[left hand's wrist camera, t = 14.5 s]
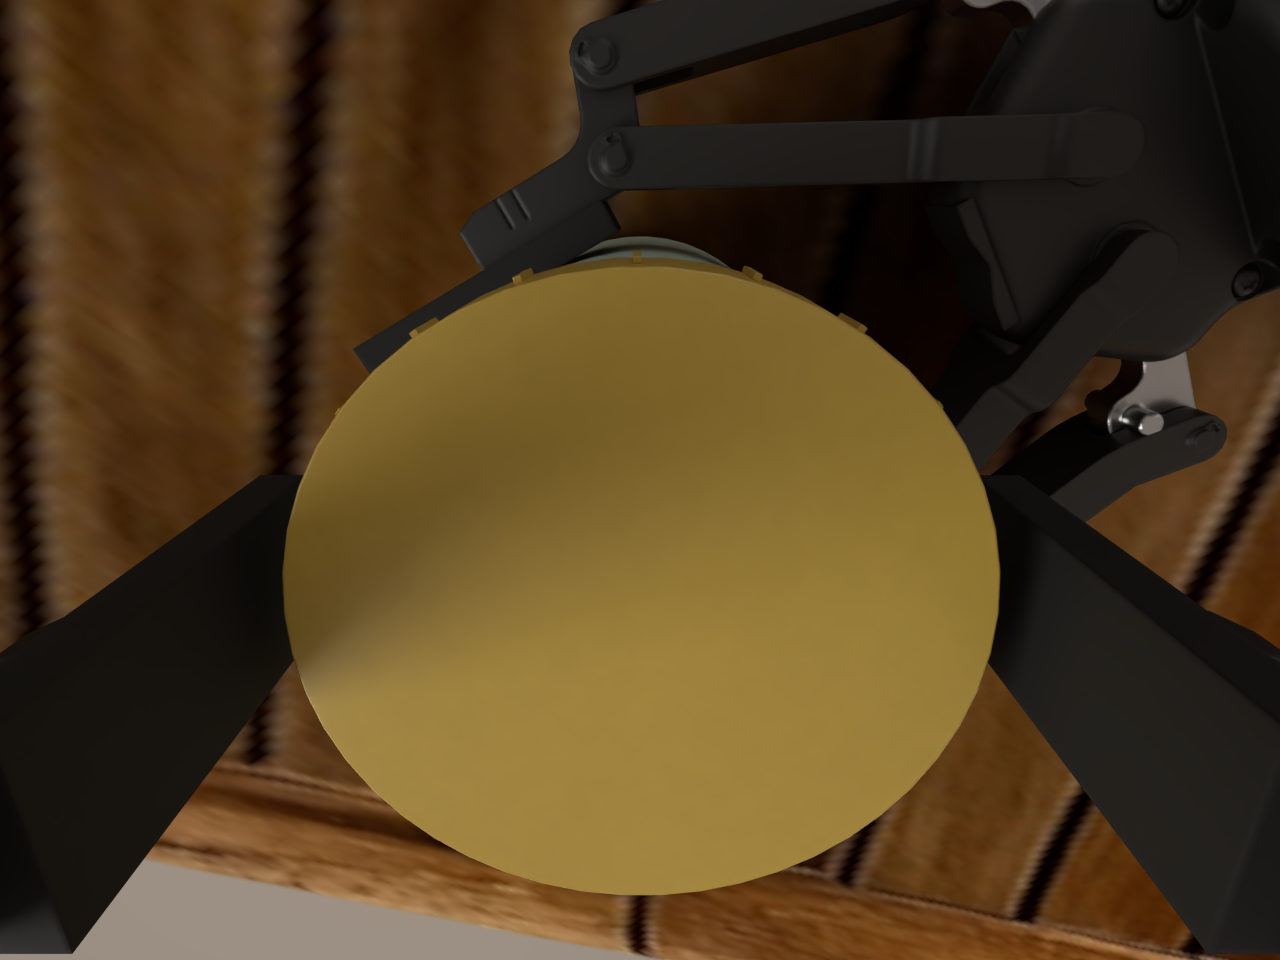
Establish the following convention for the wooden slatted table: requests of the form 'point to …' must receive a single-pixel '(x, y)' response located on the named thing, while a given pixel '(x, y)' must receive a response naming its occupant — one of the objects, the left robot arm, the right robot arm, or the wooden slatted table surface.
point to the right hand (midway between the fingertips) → (494, 516)
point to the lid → (641, 578)
